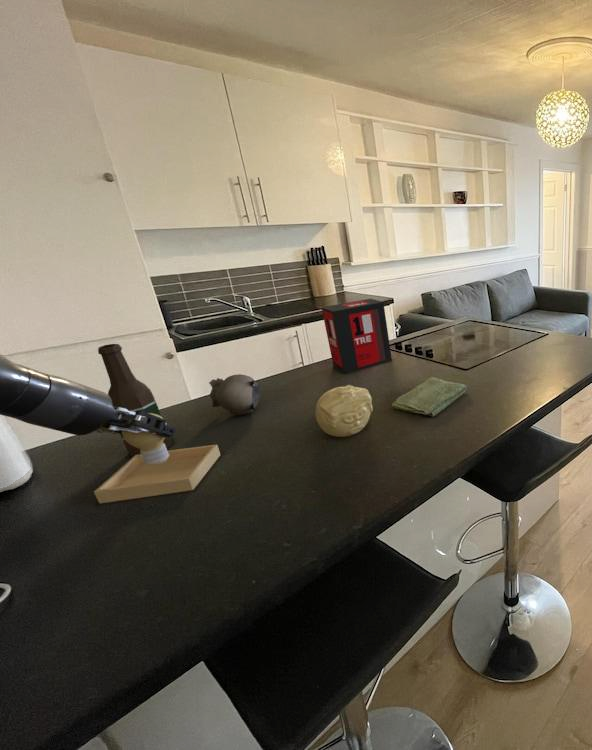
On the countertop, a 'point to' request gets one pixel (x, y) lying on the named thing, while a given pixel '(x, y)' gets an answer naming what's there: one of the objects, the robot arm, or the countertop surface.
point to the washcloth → (430, 397)
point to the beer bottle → (127, 388)
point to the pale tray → (159, 475)
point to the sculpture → (344, 410)
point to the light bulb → (148, 445)
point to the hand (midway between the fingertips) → (155, 432)
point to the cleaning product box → (357, 334)
